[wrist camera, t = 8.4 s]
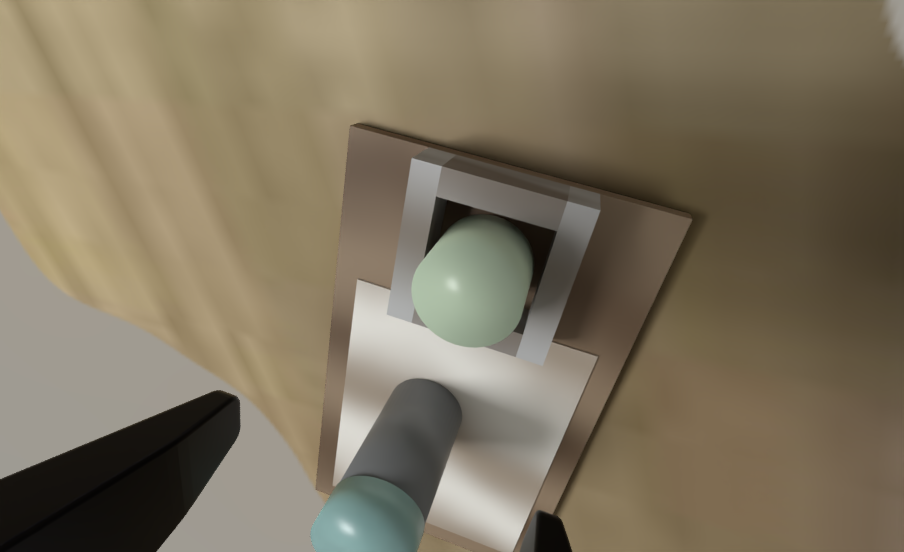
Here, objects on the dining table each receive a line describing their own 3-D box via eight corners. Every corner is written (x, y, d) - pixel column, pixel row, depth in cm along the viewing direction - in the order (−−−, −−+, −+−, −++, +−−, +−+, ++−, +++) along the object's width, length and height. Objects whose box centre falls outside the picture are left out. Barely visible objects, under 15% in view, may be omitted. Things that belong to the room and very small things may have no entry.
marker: (454, 449, 22) (401, 602, 16) (385, 424, 23) (307, 562, 17) (470, 393, 21) (418, 540, 14) (395, 367, 21) (313, 498, 15)
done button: (519, 316, 17) (506, 361, 15) (429, 288, 18) (403, 327, 15) (546, 230, 16) (537, 265, 13) (448, 202, 16) (421, 230, 14)
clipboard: (526, 561, 25) (520, 607, 23) (320, 481, 27) (297, 517, 25) (689, 213, 16) (703, 239, 14) (357, 123, 18) (325, 133, 15)
